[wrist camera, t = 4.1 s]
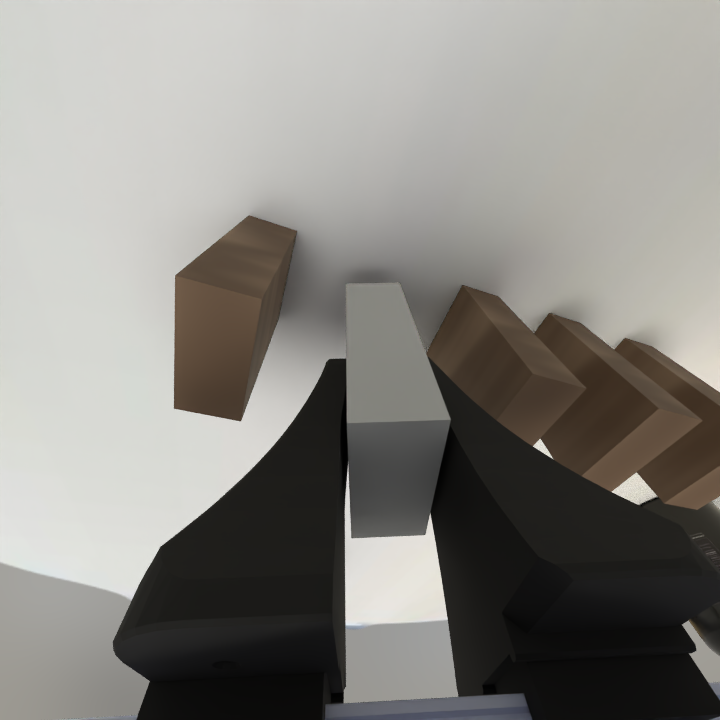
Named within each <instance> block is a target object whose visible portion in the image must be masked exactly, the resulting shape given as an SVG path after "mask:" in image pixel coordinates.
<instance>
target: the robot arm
mask: <svg viewBox="0 0 720 720" xmlns="http://www.w3.org/2000/svg"><path fill="white" fill-rule="evenodd" d="M428 360H429V363H430V365H431V368H432V371H433V373H434V376H435V379H436V381H437V384H438V387H439V389H440V392H441V395H442V398H443V400H444V403H445V406H446V408H447V411H448V414H449V416H450V419H451V421H450V425H449V430H448V434H447V439H446V443H445V448H444V452H443V457H442V461H441V466H440V470H439V475H438V479H437V484H436V488H435V493H434V497H433V502H432V506H431V511H430V513H431V518H432V524H433V530H434V535H435V541H436V547H437V553H438V559H439V565H440V571H441V577H442V584H443V590H444V597H445V604H446V610H447V617H448V624H449V631H450V639H451V646H452V653H453V661H454V668H455V677H456V684H457V690H458V696H459V697H450V698H434V699H433V698H431V699H414V700H396V701H378V702H361V703H343V699H344V689H345V687H346V649H345V648H346V647H345V493H346V481H347V469H348V439H347V377H346V359H329V360H328V361H327V362H326V365H325V367H324V370H323V372H322V374H321V376H320V378H319V380H318V382H317V384H316V386H315V388H314V389H313V391H312V393H311V395H310V396H309V398H308V400H307V401H306V403H305V404H304V406H303V407H302V409H301V410H300V412H299V413H298V415H297V416H296V418H295V419H294V421H293V422H292V423H291V425H290V426H289V427H288V429H287V430H286V431H285V432H284V434H283V435H282V436H281V437H280V439H279V440H278V441H277V442H276V443H275V445H274V446H273V447H272V448H271V449H270V450H269V451H268V452H267V453H266V455H265V456H264V457H263V458H262V459H261V460H260V461H259V462H258V463H257V464H256V465H255V466H254V467H253V468H252V469H251V470H250V471H249V472H248V473H247V474H246V475H245V476H244V477H243V478H242V479H241V480H240V481H239V482H238V483H237V484H236V485H235V486H233V487H232V488H231V489H230V490H229V491H228V492H227V493H226V494H225V495H224V496H223V497H221V498H220V499H219V500H218V501H217V502H216V503H215V504H214V505H212V506H211V507H210V508H209V509H208V510H207V511H205V512H204V513H203V514H202V515H200V516H199V517H198V518H197V519H195V520H194V521H193V522H192V523H190V524H189V525H188V526H187V527H185V528H184V529H183V530H181V531H180V532H179V533H178V534H176V535H175V536H174V537H173V538H171V539H170V540H169V541H168V542H166V543H165V544H164V545H162V546H161V547H160V549H159V551H158V552H157V554H156V556H155V558H154V559H153V561H152V563H151V565H150V566H149V568H148V569H147V571H146V573H145V575H144V577H143V579H142V580H141V582H140V584H139V586H138V588H137V590H136V593H135V595H134V597H133V599H132V601H131V604H130V606H129V608H128V610H127V612H126V615H125V617H124V619H123V621H122V623H121V625H120V628H119V630H118V632H117V634H116V636H115V638H114V640H113V649H114V652H115V655H116V656H117V657H118V658H119V659H120V660H121V661H122V662H123V663H124V664H126V665H127V666H129V667H131V668H132V669H133V670H135V671H136V672H138V673H139V674H141V675H142V676H143V677H145V678H146V679H148V680H149V681H150V683H149V686H148V689H147V691H146V694H145V697H144V699H143V702H142V705H141V708H140V711H139V713H138V715H131V716H114V717H96V718H78V719H61V720H720V682H714V683H708V682H707V680H706V679H705V677H704V676H703V674H702V673H701V671H700V670H699V668H698V667H697V665H696V664H695V662H694V661H693V659H692V658H691V656H690V655H689V653H693V652H695V651H696V646H695V644H694V642H693V641H692V639H691V638H690V636H689V635H688V633H687V632H686V630H685V629H684V628H683V626H682V624H683V623H685V622H687V621H688V620H690V619H691V618H693V617H695V616H696V615H698V614H699V613H701V612H703V611H704V610H706V609H707V608H709V607H711V606H712V605H714V604H715V603H716V602H717V601H719V600H720V570H719V569H718V568H717V567H716V565H715V564H714V563H713V562H712V561H711V560H710V558H709V557H708V556H707V555H706V554H705V553H704V552H703V550H702V549H701V548H700V547H699V546H698V545H697V543H696V542H695V541H694V540H693V539H692V538H691V537H690V535H689V534H688V533H687V532H686V531H685V530H684V529H683V528H682V527H681V525H679V524H677V523H675V522H673V521H671V520H669V519H667V518H664V517H662V516H660V515H658V514H656V513H654V512H652V511H650V510H648V509H645V508H643V507H641V506H639V505H637V504H635V503H633V502H631V501H629V500H626V499H624V498H622V497H620V496H618V495H616V494H614V493H612V492H610V491H608V490H607V489H605V488H603V487H601V486H599V485H597V484H595V483H593V482H592V481H590V480H588V479H586V478H584V477H582V476H581V475H579V474H577V473H575V472H574V471H572V470H570V469H568V468H567V467H565V466H563V465H561V464H560V463H558V462H557V461H555V460H553V459H552V458H550V457H549V456H547V455H545V454H544V453H542V452H541V451H539V450H537V449H536V448H534V447H533V446H531V445H530V444H528V443H527V442H525V441H524V440H522V439H521V438H520V437H518V436H517V435H516V434H514V433H513V432H511V431H510V430H509V429H507V428H506V427H504V426H503V425H502V424H501V423H499V422H498V421H497V420H495V419H494V418H493V417H492V416H491V415H489V414H488V413H487V412H486V411H485V410H483V409H482V408H481V407H480V406H479V405H477V404H476V403H475V402H474V401H473V400H472V399H471V398H470V397H469V396H467V395H466V394H465V393H464V392H463V391H462V390H461V389H460V388H459V387H458V386H457V385H456V384H455V383H454V382H453V381H452V380H451V379H450V378H449V377H448V376H447V375H446V374H445V373H444V372H443V371H442V370H441V369H440V368H439V367H438V366H437V365H436V364H435V363H434V362H433V360H432V359H431V358H430V357H428Z"/></svg>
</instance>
